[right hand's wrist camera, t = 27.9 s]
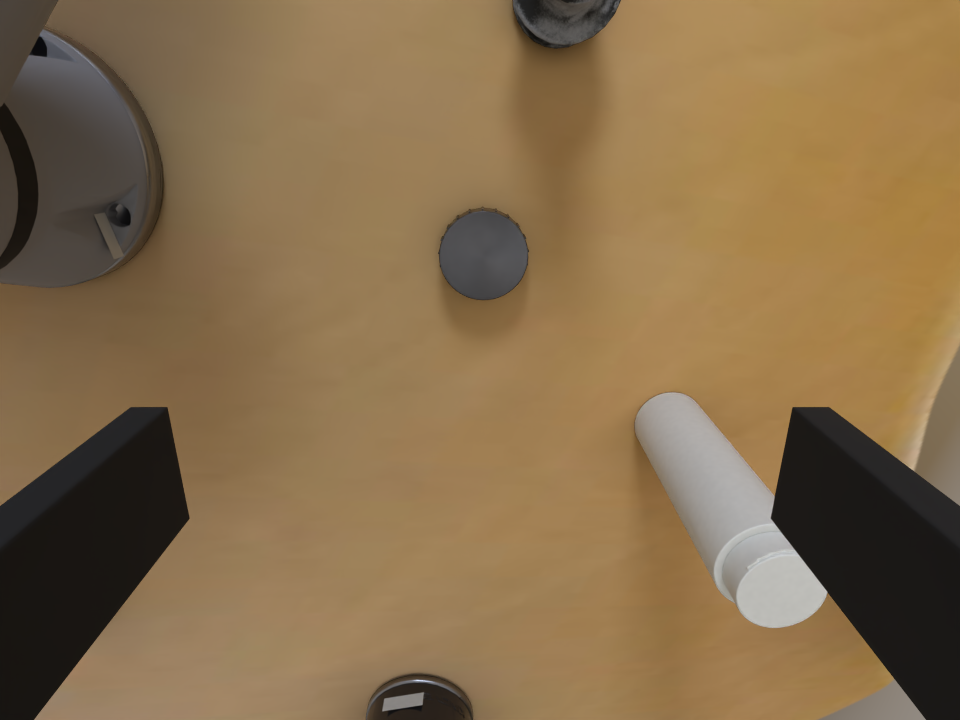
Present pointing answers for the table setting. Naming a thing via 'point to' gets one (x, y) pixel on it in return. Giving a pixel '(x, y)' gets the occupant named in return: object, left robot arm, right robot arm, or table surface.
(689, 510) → the jar
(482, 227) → the lid
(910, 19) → the table surface
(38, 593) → the right robot arm
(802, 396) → the table surface
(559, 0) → the grey stepped tapered figure
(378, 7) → the table surface
